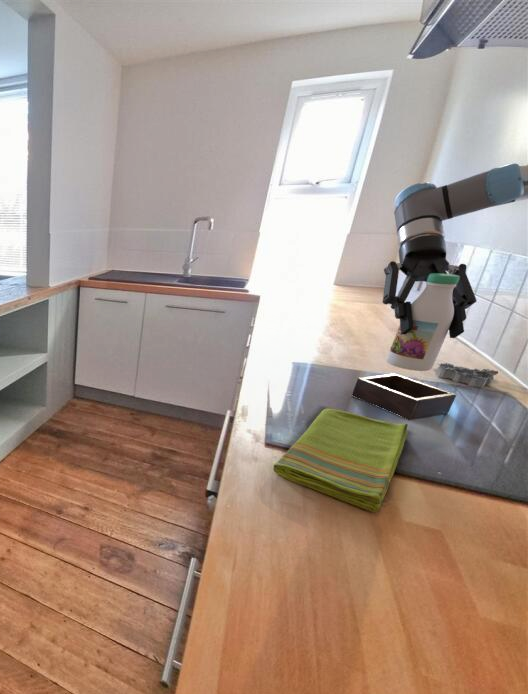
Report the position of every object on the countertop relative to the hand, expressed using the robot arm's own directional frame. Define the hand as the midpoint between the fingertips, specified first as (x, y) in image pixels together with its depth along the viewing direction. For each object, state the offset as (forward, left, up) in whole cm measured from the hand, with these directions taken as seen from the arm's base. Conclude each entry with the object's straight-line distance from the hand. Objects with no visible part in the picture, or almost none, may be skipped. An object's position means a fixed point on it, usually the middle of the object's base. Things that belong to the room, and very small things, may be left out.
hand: (431, 332), depth 86 cm
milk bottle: (+3, -2, -9) cm, 9 cm away
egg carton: (+13, -43, -21) cm, 50 cm away
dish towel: (-8, +25, -21) cm, 33 cm away
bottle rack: (+6, -9, -21) cm, 23 cm away
